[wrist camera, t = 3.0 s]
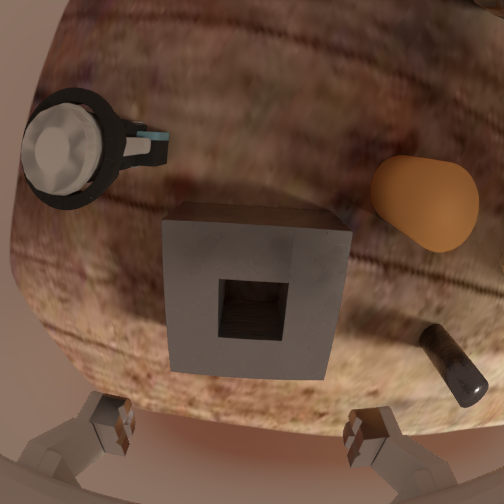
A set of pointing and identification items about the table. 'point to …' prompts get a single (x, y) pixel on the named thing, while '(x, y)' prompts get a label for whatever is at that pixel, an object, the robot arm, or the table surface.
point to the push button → (83, 148)
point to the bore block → (252, 269)
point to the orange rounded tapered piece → (426, 200)
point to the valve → (502, 262)
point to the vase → (492, 6)
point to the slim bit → (453, 366)
